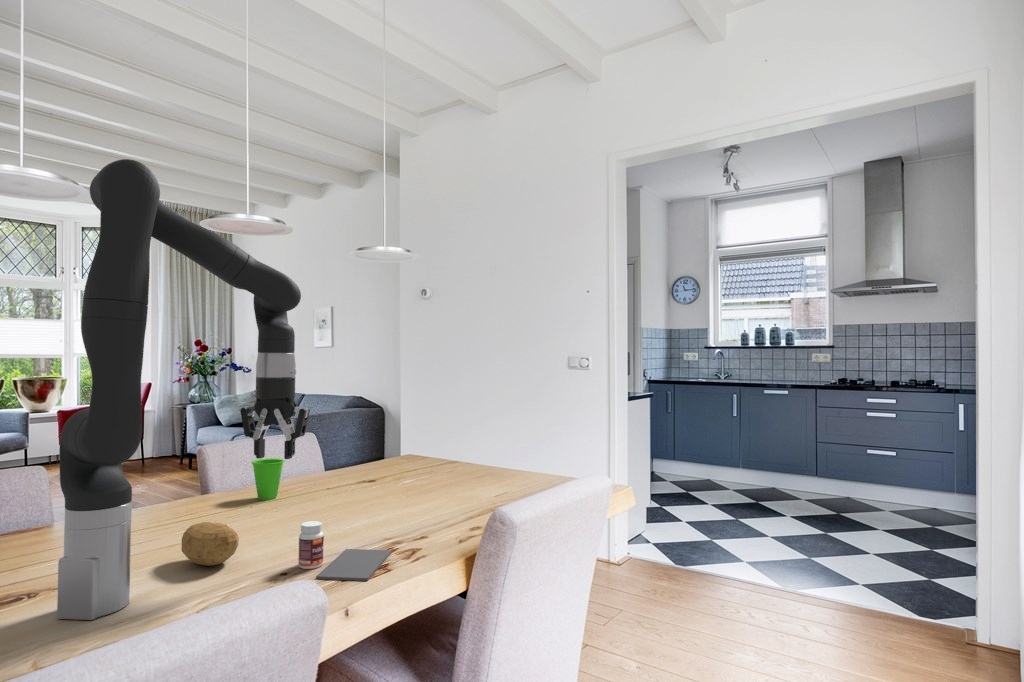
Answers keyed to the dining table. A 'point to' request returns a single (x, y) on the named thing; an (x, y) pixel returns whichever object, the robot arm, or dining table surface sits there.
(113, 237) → the robot arm
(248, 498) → the dining table surface
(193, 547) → the potato
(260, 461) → the cup
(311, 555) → the pill bottle
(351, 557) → the mat
